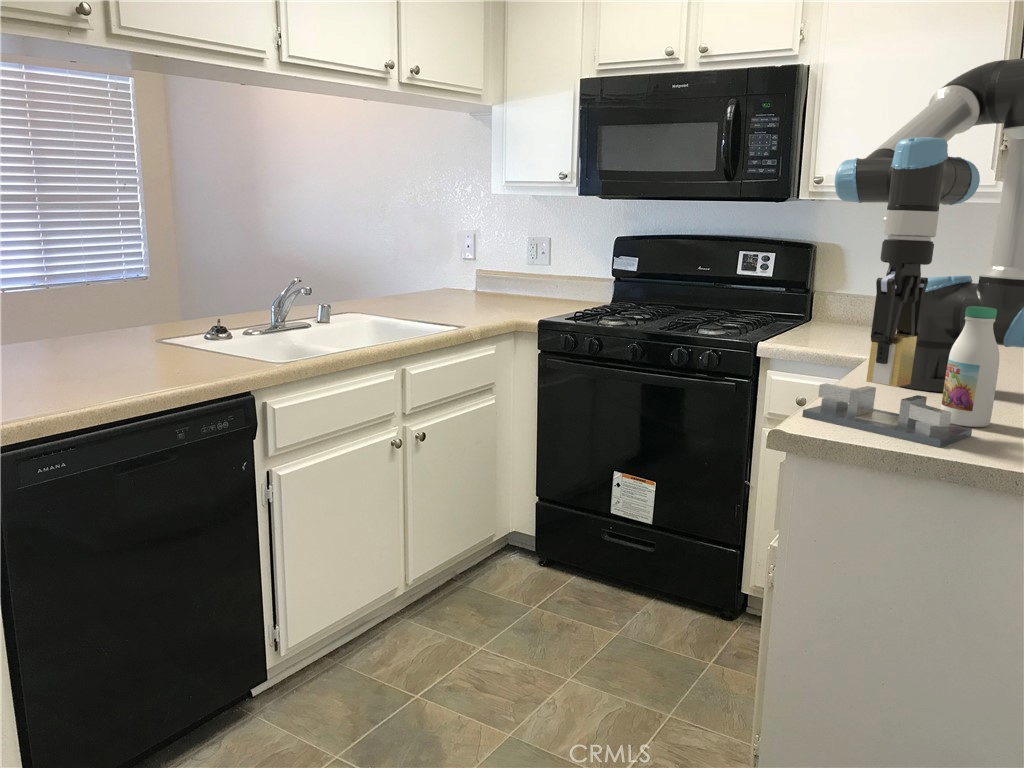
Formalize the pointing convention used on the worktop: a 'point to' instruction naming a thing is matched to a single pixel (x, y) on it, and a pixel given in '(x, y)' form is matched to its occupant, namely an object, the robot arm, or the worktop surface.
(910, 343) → the yellow block
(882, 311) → the robot arm
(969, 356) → the milk bottle
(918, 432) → the grey fixture board
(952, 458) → the worktop surface
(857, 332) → the worktop surface
